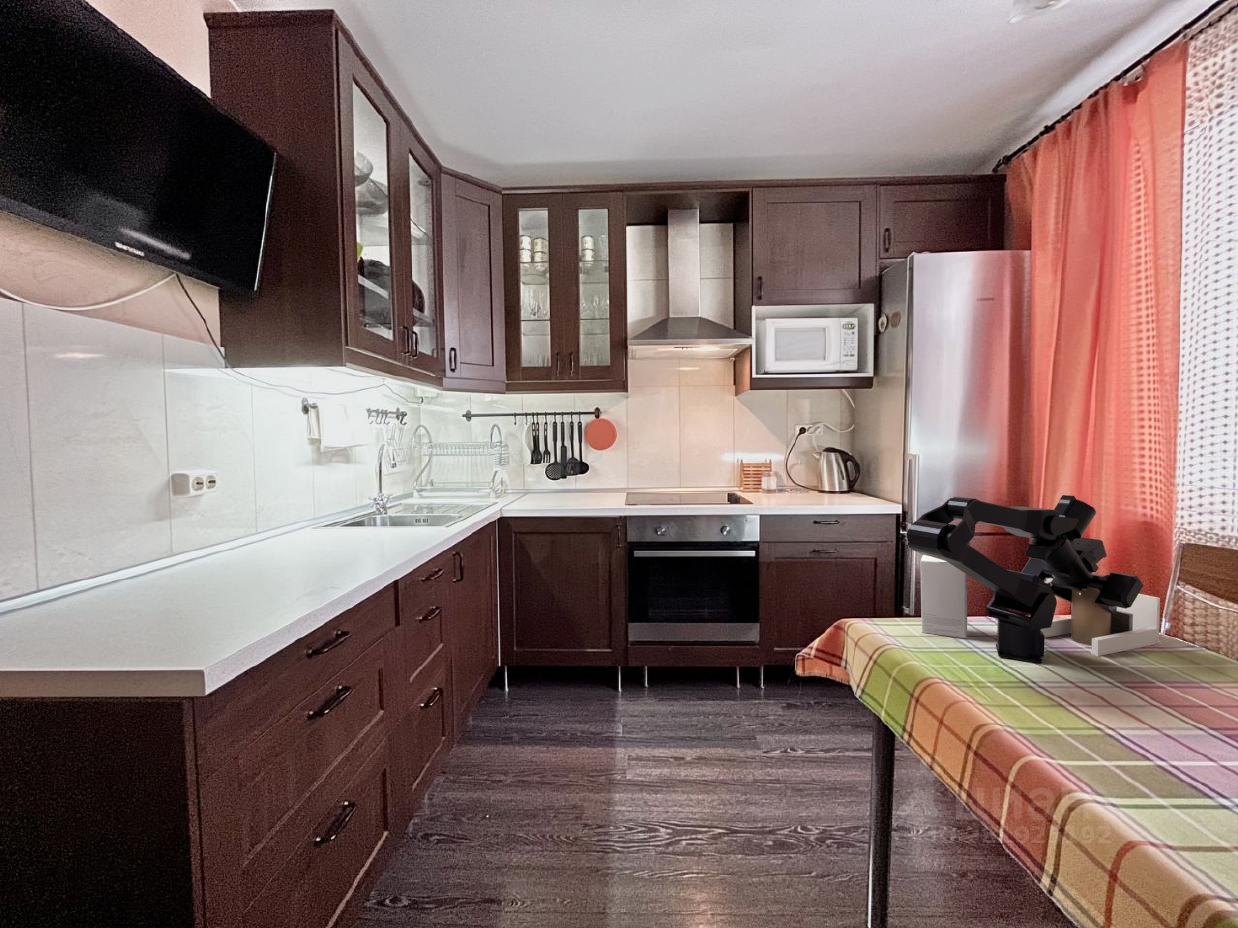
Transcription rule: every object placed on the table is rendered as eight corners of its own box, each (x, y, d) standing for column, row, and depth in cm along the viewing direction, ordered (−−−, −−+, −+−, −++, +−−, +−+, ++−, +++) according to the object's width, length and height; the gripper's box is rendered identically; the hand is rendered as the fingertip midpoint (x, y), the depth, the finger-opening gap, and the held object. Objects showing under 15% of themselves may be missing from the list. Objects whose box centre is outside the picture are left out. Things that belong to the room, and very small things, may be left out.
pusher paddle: (1129, 642, 107) (1129, 614, 107) (1082, 629, 114) (1083, 603, 114) (1132, 641, 107) (1132, 613, 107) (1085, 629, 115) (1086, 602, 115)
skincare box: (966, 630, 116) (967, 557, 115) (966, 640, 110) (967, 563, 110) (921, 624, 120) (922, 553, 120) (919, 632, 115) (920, 558, 114)
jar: (1074, 643, 108) (1075, 577, 108) (1068, 634, 113) (1069, 571, 113) (1114, 648, 105) (1115, 581, 105) (1106, 639, 110) (1107, 574, 110)
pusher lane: (1097, 656, 101) (1098, 607, 101) (1035, 636, 112) (1036, 592, 112) (1158, 643, 108) (1160, 597, 107) (1094, 626, 118) (1095, 584, 118)
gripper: (1138, 532, 98) (1173, 587, 102) (1029, 519, 116) (1063, 567, 120) (1108, 579, 96) (1146, 634, 100) (1002, 559, 113) (1038, 606, 118)
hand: (1095, 607), depth 109 cm, fingers closed on jar, 6 cm apart
